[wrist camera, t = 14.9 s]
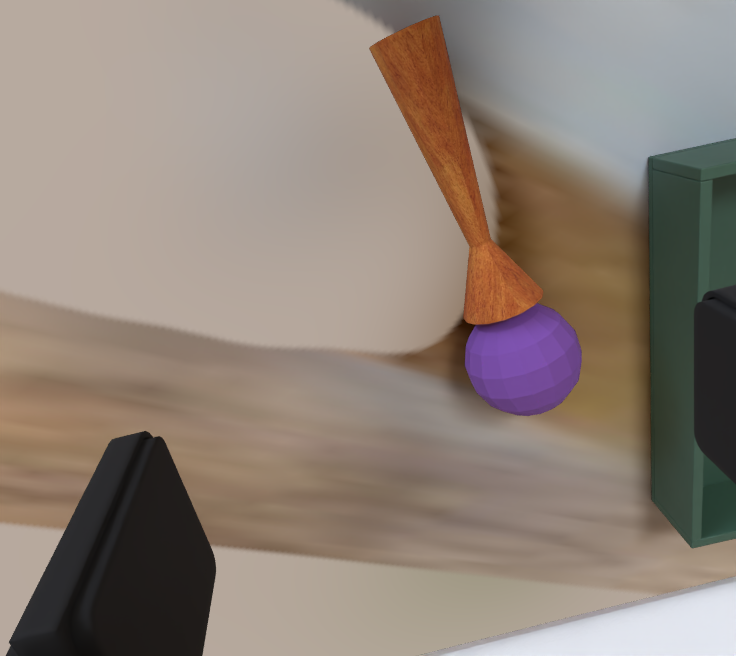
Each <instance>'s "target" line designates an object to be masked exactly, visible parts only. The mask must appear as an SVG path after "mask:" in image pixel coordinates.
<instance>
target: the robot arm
mask: <svg viewBox="0 0 736 656" xmlns="http://www.w3.org/2000/svg"><path fill="white" fill-rule="evenodd" d="M694 436H695V439H696V442H697V444H698V446H699V448H700V450H701V451H702V452H703V453H704V454H705V455H706V456H707V457H708V458H709V459H710V460H711V461H712V462H713V463H714V464H715V465H716V466H717V467H718V468H719V469H720V470H721V471H722V472H723V473H724V474H725V475H726V476H727V477H728V478H729V479H731V480H732V481H733V482H734V483H735V484H736V285H732V286H728V287H724V288H720V289H716V290H712V291H708V292H706V293H705V294H704V296H703V298H702V302H698V303H697V304H696V306H695V308H694ZM215 575H216V564H215V558H214V554H213V551H212V549H211V546H210V544H209V542H208V540H207V537H206V535H205V533H204V530H203V528H202V526H201V523H200V521H199V519H198V517H197V514H196V512H195V510H194V507H193V505H192V503H191V501H190V498H189V496H188V494H187V491H186V489H185V487H184V484H183V482H182V480H181V478H180V475H179V473H178V471H177V468H176V466H175V464H174V462H173V459H172V457H171V455H170V452H169V450H168V448H167V445H166V443H165V441H164V440H163V439H162V437H160V436H158V437H154V438H153V437H152V435H151V434H150V433H149V432H147V431H144V432H139V433H135V434H131V435H127V436H123V437H119V438H115V439H112V440H111V441H110V443H109V444H108V446H107V448H106V450H105V452H104V454H103V456H102V458H101V460H100V462H99V464H98V466H97V468H96V470H95V472H94V474H93V476H92V478H91V480H90V482H89V484H88V486H87V488H86V490H85V492H84V494H83V496H82V498H81V500H80V502H79V504H78V506H77V508H76V510H75V512H74V514H73V516H72V518H71V520H70V522H69V524H68V526H67V528H66V530H65V532H64V534H63V536H62V538H61V540H60V542H59V544H58V546H57V548H56V550H55V552H54V554H53V556H52V558H51V560H50V562H49V564H48V566H47V568H46V570H45V572H44V574H43V576H42V577H41V579H40V582H39V584H38V585H37V587H36V589H35V591H34V594H33V596H32V598H31V599H30V601H29V603H28V605H27V607H26V609H25V611H24V613H23V615H22V617H21V619H20V621H19V623H18V625H17V627H16V629H15V631H14V633H13V635H12V637H11V639H10V641H9V643H10V645H11V646H10V649H9V650H8V652H7V654H6V656H202V654H203V648H204V642H205V636H206V630H207V623H208V618H209V612H210V606H211V600H212V593H213V588H214V582H215ZM418 656H736V576H735V577H731V578H726V579H722V580H718V581H714V582H710V583H706V584H702V585H698V586H694V587H690V588H685V589H681V590H677V591H673V592H669V593H665V594H661V595H657V596H653V597H649V598H645V599H641V600H637V601H633V602H629V603H625V604H621V605H617V606H613V607H609V608H605V609H601V610H597V611H593V612H589V613H585V614H581V615H577V616H573V617H569V618H565V619H561V620H557V621H553V622H549V623H545V624H541V625H537V626H533V627H529V628H525V629H521V630H517V631H513V632H509V633H505V634H501V635H497V636H493V637H489V638H485V639H481V640H477V641H473V642H470V643H465V644H461V645H458V646H453V647H449V648H445V649H441V650H437V651H434V652H430V653H426V654H422V655H418Z"/></svg>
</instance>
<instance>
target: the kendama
mask: <svg viewBox="0 0 736 656" xmlns="http://www.w3.org/2000/svg"><path fill="white" fill-rule="evenodd" d="M369 49H370V51H371V53H372V55H373V57H374V59H375V61H376V63H377V65H378V67H379V69H380V71H381V73H382V75H383V77H384V79H385V81H386V83H387V84H388V87H389V89H390V90H391V93H392V94H393V96H394V98H395V100H396V102H397V104H398V106H399V108H400V110H401V112H402V114H403V116H404V118H405V120H406V122H407V124H408V126H409V128H410V130H411V132H412V134H413V136H414V138H415V140H416V142H417V144H418V146H419V148H420V150H421V152H422V153H423V156H424V158H425V160H426V161H427V163H428V165H429V167H430V169H431V171H432V173H433V175H434V177H435V179H436V181H437V183H438V185H439V187H440V189H441V191H442V193H443V195H444V197H445V199H446V201H447V203H448V205H449V207H450V209H451V211H452V213H453V215H454V217H455V219H456V221H457V223H458V225H459V227H460V228H461V230H462V232H463V234H464V236H465V238H466V240H467V242H468V244H469V246H470V248H469V259H468V270H467V281H466V293H465V304H464V315H463V318H464V319H465V321H466V322H467V323H471V324H475V327H474V329H473V331H472V333H471V334H470V336H469V338H468V341H467V344H466V354H465V367H466V370H467V372H468V375H469V377H470V380H471V382H472V385H473V386H474V388H475V390H476V392H477V393H478V394H479V395H480V396H481V397H482V398H483V399H484V400H485V401H486V402H487V403H488V404H490V405H491V406H492V407H494V408H497V409H499V410H501V411H504V412H508V413H511V414H515V415H523V416H530V415H536V414H541V413H544V412H546V411H549V410H551V409H553V408H555V407H556V406H557V405H559V404H560V403H562V402H563V400H564V399H565V398H566V397H567V395H568V394H569V393H570V392H571V390H572V389H573V387H574V386H575V385H576V383H577V382H578V380H579V374H580V368H581V361H582V359H581V347H580V344H579V341H578V338H577V335H576V332H575V330H574V329H573V328H572V327H571V326H570V325H569V324H568V323H567V322H566V321H565V320H564V319H563V317H562V316H561V315H560V314H558V313H557V312H556V311H555V310H553V309H551V308H548V307H546V306H543V305H540V304H538V303H537V302H538V301H539V300H540V299H541V298H542V296H543V290H542V289H541V288H540V287H539V286H538V285H537V284H536V283H535V282H534V281H533V280H532V279H531V278H530V277H529V276H528V275H527V274H526V273H525V272H524V271H523V270H522V269H521V268H520V267H519V266H518V265H517V264H516V263H515V262H514V261H513V260H512V259H511V258H510V257H509V256H508V255H507V254H506V253H505V252H504V251H503V250H502V249H501V248H500V247H499V246H498V245H497V244H495V243H494V242H493V241H492V240H491V238H490V234H489V230H488V225H487V221H486V216H485V212H484V208H483V204H482V199H481V195H480V191H479V186H478V182H477V178H476V173H475V169H474V165H473V160H472V156H471V152H470V147H469V144H468V139H467V134H466V130H465V126H464V121H463V117H462V113H461V108H460V104H459V100H458V96H457V91H456V87H455V83H454V78H453V74H452V70H451V65H450V61H449V57H448V52H447V48H446V44H445V39H444V35H443V31H442V26H441V22H440V18H439V16H433V17H430V18H427V19H425V20H423V21H420V22H418V23H415V24H413V25H411V26H409V27H407V28H404V29H402V30H400V31H398V32H396V33H394V34H392V35H390V36H388V37H386V38H384V39H382V40H381V41H379V42H377V43H376V44H374V45H372V46H371V47H370V48H369Z"/></svg>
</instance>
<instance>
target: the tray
mask: <svg viewBox="0 0 736 656" xmlns="http://www.w3.org/2000/svg"><path fill="white" fill-rule="evenodd" d="M649 252H650V364H651V476H652V501H653V502H654V504H655V505H656V506H657V507H658V508H659V509H660V511H661V512H662V513H663V514H664V515H665V517H666V518H667V519H668V520H669V522H670V523H671V524H672V525H673V526H674V528H675V529H676V530H677V531H678V532H679V534H680V535H681V536H682V537H683V538H684V540H685V541H686V542H687V543H688V544H689V546H690V547H691V548H696V547H701V546H705V545H709V544H714V543H718V542H723V541H727V540H732V539H736V484H735V483H734V482H733V481H732V480H731V479H729V478H728V477H727V476H726V475H725V474H724V473H723V472H722V471H721V470H720V469H719V468H718V467H717V466H716V465H715V464H714V463H713V462H712V461H711V460H710V459H709V458H708V457H707V456H706V455H705V454H704V453H703V452H702V451H701V450H700V448H699V446H698V444H697V442H696V439H695V436H694V308H695V306H696V304H697V303H698V302H702V298H703V296H704V294H705V293H706V292H708V291H712V290H716V289H720V288H724V287H728V286H732V285H736V138H735V139H730V140H726V141H721V142H716V143H712V144H707V145H702V146H698V147H693V148H688V149H683V150H679V151H674V152H669V153H665V154H660V155H655V156H651V157H649Z"/></svg>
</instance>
